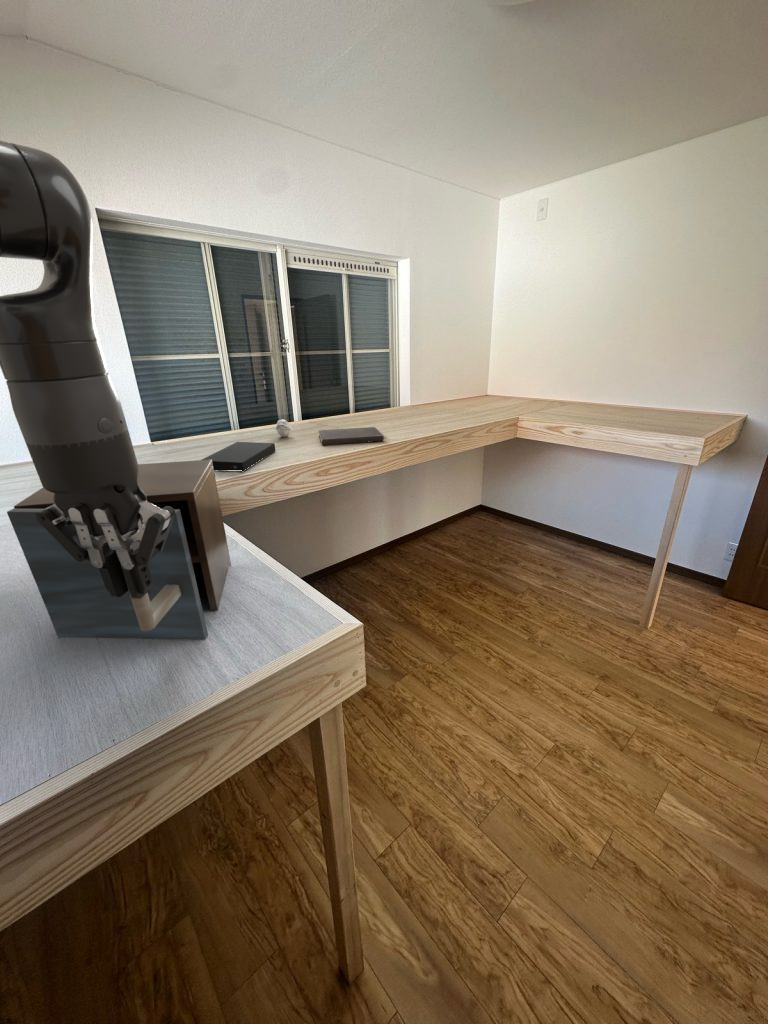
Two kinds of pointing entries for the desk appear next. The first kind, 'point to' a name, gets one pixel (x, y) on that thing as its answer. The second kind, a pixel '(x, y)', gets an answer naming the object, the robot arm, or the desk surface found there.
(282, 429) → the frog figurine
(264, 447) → the external hard drive
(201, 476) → the cupboard
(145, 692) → the desk surface
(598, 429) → the desk surface
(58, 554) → the door
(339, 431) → the hardcover book
